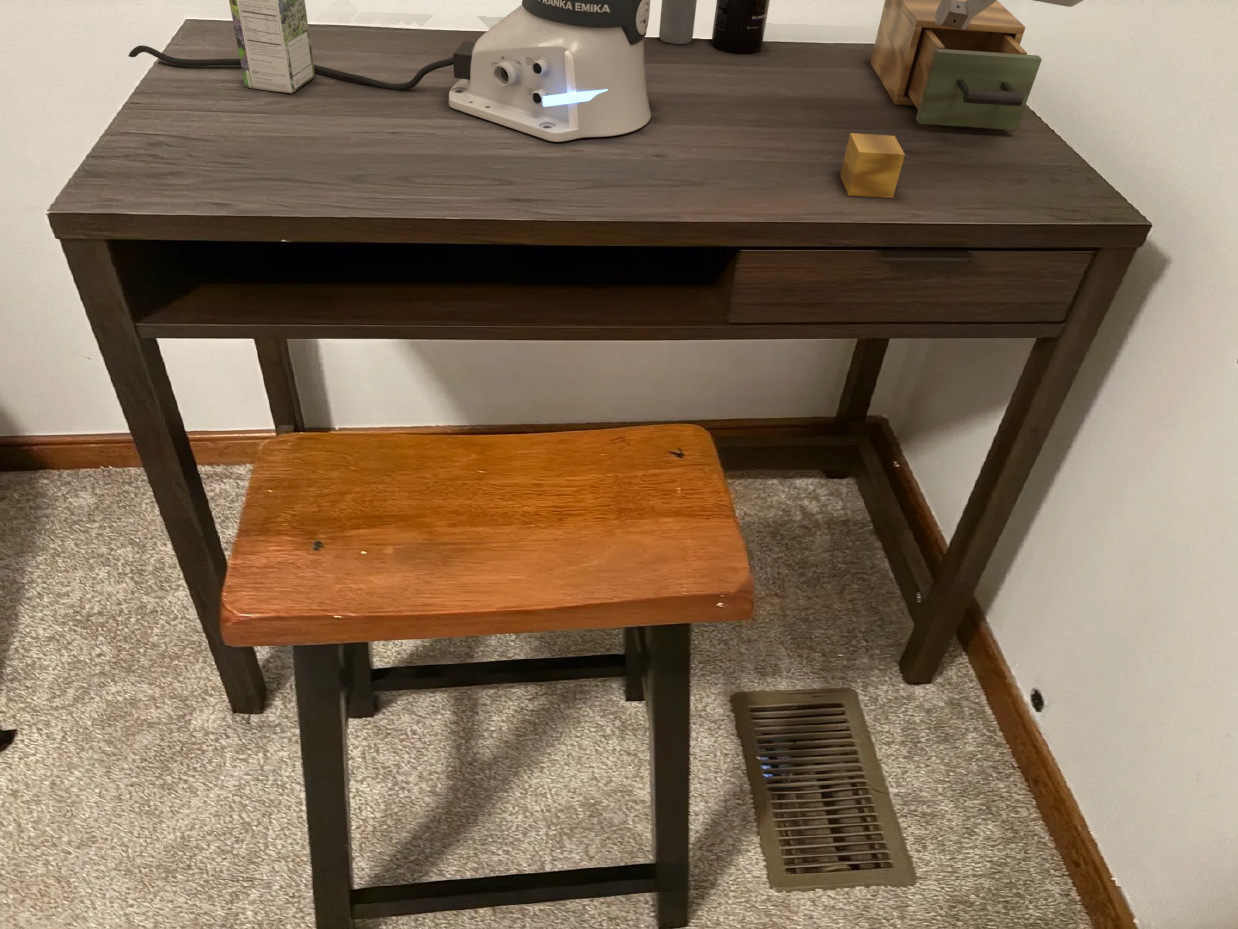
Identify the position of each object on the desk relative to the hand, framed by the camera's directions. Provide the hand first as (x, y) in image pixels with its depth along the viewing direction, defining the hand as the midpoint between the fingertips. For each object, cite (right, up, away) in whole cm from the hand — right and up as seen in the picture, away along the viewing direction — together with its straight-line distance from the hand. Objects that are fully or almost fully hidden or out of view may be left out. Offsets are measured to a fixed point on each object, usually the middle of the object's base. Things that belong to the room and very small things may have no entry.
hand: (949, 22), depth 88 cm
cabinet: (+8, +6, +29) cm, 30 cm away
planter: (-24, +15, +36) cm, 46 cm away
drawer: (+8, -1, +20) cm, 21 cm away
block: (-7, -14, +5) cm, 16 cm away
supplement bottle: (-16, +14, +36) cm, 41 cm away
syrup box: (-69, +1, +16) cm, 71 cm away
